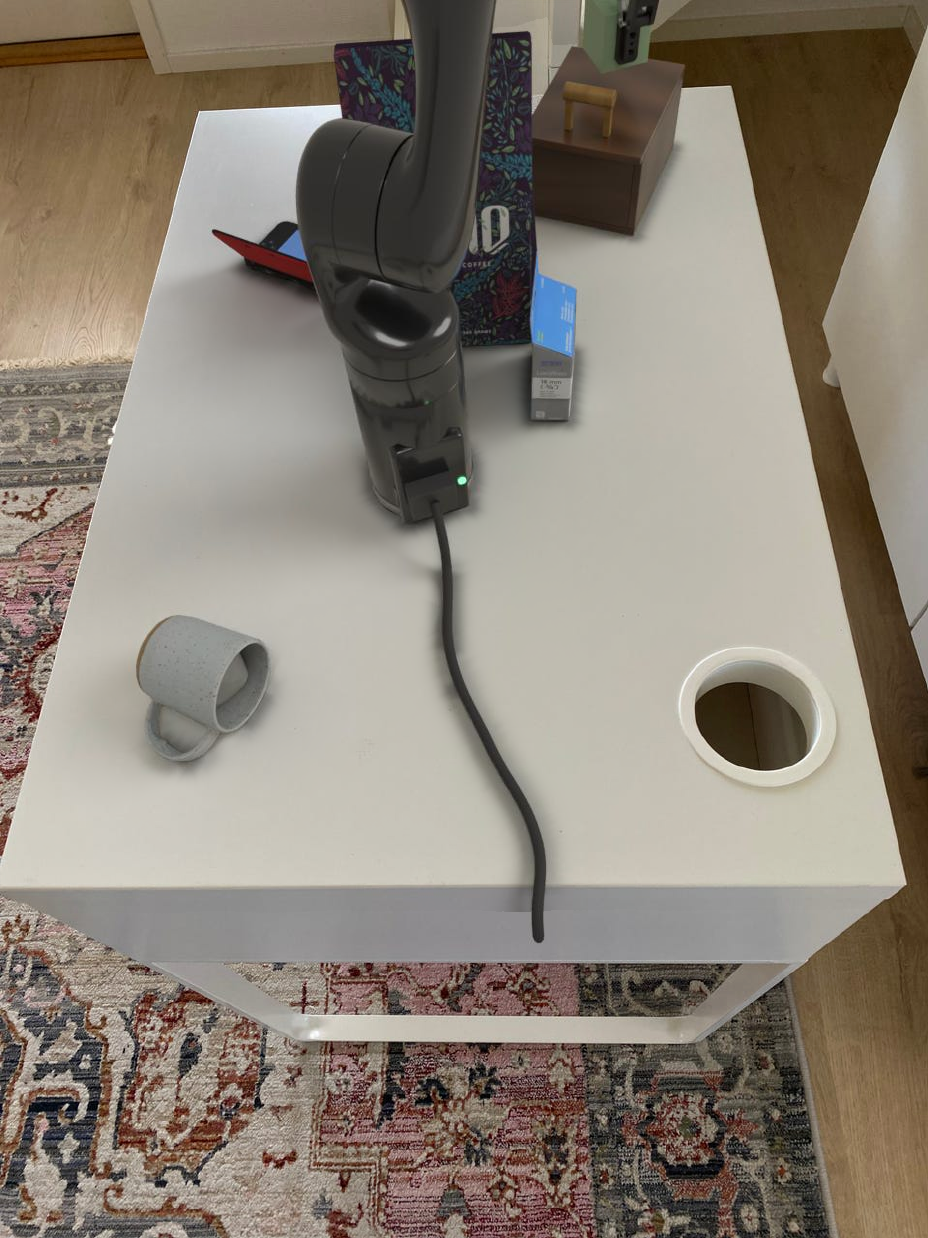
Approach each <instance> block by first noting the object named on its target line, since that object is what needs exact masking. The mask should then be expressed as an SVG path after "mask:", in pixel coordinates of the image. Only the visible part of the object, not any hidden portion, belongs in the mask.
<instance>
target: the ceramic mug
mask: <svg viewBox="0 0 928 1238" xmlns="http://www.w3.org/2000/svg"><path fill="white" fill-rule="evenodd" d="M271 665H272V664H271V655H270V651H269V648H268V646H267V645H266V643H265V642H264V641H263V640H261V639H259V638H257V637H254V636H251V635H248V634H245V633H241V632H239V631H236V630H233V629H230V628H227V627H224V626H221V625H218V624H214V623H212V622H209V621H207V620H204V619H201V618H199V617H194V616H191V615H189V616H188V615H181V614H178V615H171V616H168V617H165V618H164V619H163V620H161V621H158V623H156V624H155V625H154V627H153V628H152V629H151V630H150V631H149V632H148V634H147V635H146V637H145V638H144V640H143V641H142V644H141V646H140V649H139V652H138V655H137V658H136V664H135V666H136V667H135V674H136V675H135V676H136V679H137V684H138V686H139V688H140V690H141V691H142V692H143V693H144V694H145V695H147V696H148V697H149V698H150V699H151V701H150V703H149V705H148V706H147V710H146V714H145V718H144V732H145V737H146V739H147V742H148V743H149V746H150V747H151V748H152V749H153V750H154V752H155V753H157V754H158V755H160V757H161V756H162V757H163V758H164V759H167V760H169V761H172V762H188V761H193V760H196V759H198V758H199V757H201V756H203V755H204V754H206V752H208V751H209V750H210V748H211V747H212V746H213V744H214V743H215V741H216V740H217V739H218V737H219V735H220V733H221V734H229V733H232V732H235V731H237V730H238V729H239V728H241V727H242V726H244V725H245V724H246V723H247V721H248V720H249V719H250V718H251V717H252V716H253V714H254V712H255V711H256V710H257V708H258V706H259V704H260V702H261V701H262V698H263V697H264V695H265V692H266V689H267V687H268V683H269V679H270V675H271V669H272V667H271ZM163 706H164V707H167V708H169V709H172V710H173V711H176V712H178V713H180V714H182V715H184V716H186V717H187V718H190V719H192V720H193V721H195V722H197V723H199V724H201V725H203V726H206V728H207V729H206V732H205V734H204V735H203V737H202V738H201V739H200V741H199V742H198V744H196V746H194V748H192V749H191V750H188V751H187V752H181V751H180V750H178V749H176V748H174V747H173V746H172V745H170V744H169V743H168V741H167V740H166V739H164V738H162V737H161V733H160V730H159V723H160V717H161V712H162V709H163Z"/></svg>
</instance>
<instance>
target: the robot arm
mask: <svg viewBox="0 0 928 1238" xmlns="http://www.w3.org/2000/svg"><path fill="white" fill-rule="evenodd" d="M497 1H498V0H400V2H401V6H402V8H403V11H404V15H405V18H406V22H407V26H408V30H409V35H410V39H411V41H412V47H413V55H414V65H415V82H416V104H415V126H414V132H410V131H405V130H401V129H396V128H392V127H387V126H383V125H377V124H373V123H369V122H364V121H360V120H354V119H347V118H342V117H338V118H333V119H330V120H328V121H325V122H324V123H322V124H321V125H320V126H319V127H318V128H317V129H316V130H315V131H313V133H312V134H311V135H310V137H309V138H308V141H307V142H306V144H305V146H304V148H303V150H302V153H301V156H300V159H299V162H298V168H297V174H296V180H295V212H296V213H295V214H296V221H297V224H298V228H299V233H300V238H301V242H302V246H303V250H304V253H305V257H306V260H307V264H308V267H309V270H310V273H311V276H312V279H313V282H314V285H315V289H316V291H315V292H316V295H317V298H318V301H319V305H320V307H321V311H322V314H323V317H324V321H325V323H326V326H327V327H328V330H329V331H330V332H331V334H332V335H333V337H334V338H335V339H336V340H337V341H338V342H339V345H340V348H341V351H342V356H343V360H344V365H345V369H346V373H347V378H348V383H349V387H350V391H351V396H352V401H353V405H354V409H355V413H356V419H357V423H358V426H359V431H360V435H361V439H362V444H363V448H364V453H365V458H366V462H367V465H368V469H369V477H370V483H371V487H372V491H373V493H374V496H375V497H376V499H377V500H378V502H379V503H380V504H381V505H382V506H384V508H386V509H387V510H389V511H390V512H392V513H394V514H396V515H399V516H400V517H401V519H402V522H403V523H404V524H405V525H409V524H412V523H415V522H419V521H422V520H425V519H429V518H432V519H433V524H434V528H435V533H436V538H437V542H438V547H439V554H440V561H441V562H440V563H441V574H442V617H441V618H442V619H441V628H442V629H441V631H442V643H443V650H444V654H445V659H446V663H447V667H448V671H449V673H450V677H451V679H452V682H453V685H454V687H455V690H456V692H457V695H458V697H459V699H460V701H461V703H462V705H463V707H464V708H465V711H466V713H467V714H468V716H469V718H470V721H471V722H472V724H473V726H474V728H475V730H476V732H477V734H478V737H479V738H480V741H481V743H482V744H483V747H484V749H485V751H486V753H487V755H488V757H489V759H490V761H491V763H492V764H493V766H494V768H495V769H496V771H497V773H498V775H499V776H500V778H501V780H502V781H503V783H504V785H505V786H506V788H507V789H508V792H509V793H510V795H511V797H512V798H513V799H514V801H515V803H516V806H517V807H518V808H519V811H520V814H521V815H522V817H523V820H524V822H525V825H526V828H527V831H528V833H529V838H530V841H531V846H532V850H533V857H534V858H533V859H534V873H533V874H534V876H533V885H532V886H533V887H532V899H531V916H530V917H531V934H532V935H531V936H532V938H533V941H534V942H535V943H536V944H542V943H543V942H544V940H545V923H544V908H545V894H546V885H547V884H546V883H547V857H546V849H545V844H544V840H543V836H542V833H541V829H540V826H539V824H538V821H537V818H536V816H535V813H534V811H533V809H532V806H531V805H530V803H529V801H528V799H527V797H526V795H525V794H524V792H523V790H522V789H521V787H520V786H519V784H518V782H517V781H516V779H515V778H514V775H513V774H512V773H511V770H510V769H509V767H508V766H507V764H506V762H505V761H504V759H503V757H502V755H501V753H500V752H499V749H498V747H497V745H496V743H495V741H494V739H493V737H492V735H491V733H490V731H489V729H488V727H487V725H486V723H485V721H484V719H483V718H482V716H481V713H480V712H479V710H478V708H477V706H476V704H475V702H474V700H473V698H472V696H471V694H470V692H469V690H468V687H467V685H466V682H465V680H464V677H463V674H462V672H461V667H460V666H459V662H458V658H457V653H456V648H455V643H454V635H453V604H454V603H453V602H454V588H453V587H454V584H453V583H454V580H453V579H454V578H453V567H452V566H453V565H452V556H451V549H450V544H449V539H448V532H447V528H446V524H445V520H444V516H443V514H445V513H448V512H451V511H455V510H458V509H462V508H464V507H467V506H469V505H470V494H469V493H470V491H471V488H472V487H473V483H474V478H475V477H474V475H475V472H474V471H475V470H474V463H473V457H472V448H471V440H470V438H471V437H470V427H469V425H470V424H469V415H468V404H467V403H468V401H467V388H466V377H465V365H464V363H465V362H464V350H463V349H464V348H463V346H462V336H461V322H460V313H459V307H458V303H457V301H456V298H455V296H454V294H453V293H452V291H451V289H450V288H449V286H450V285H451V284H452V283H453V282H454V280H455V279H456V277H457V276H458V274H459V272H460V270H461V268H462V266H463V263H464V261H465V258H466V255H467V252H468V248H469V245H470V241H471V236H472V232H473V227H474V222H475V215H476V208H477V199H478V189H479V180H480V169H481V158H482V145H483V133H484V121H485V110H486V98H487V86H488V74H489V63H490V51H491V41H492V33H494V32H493V31H494V23H495V16H496V9H497V3H498V2H497ZM616 1H617V21H618V24H617V31H616V44H615V56H614V59H615V61H616V62H617V64H618V65H623V64H627V63H630V62H634V61H635V60H636V59H637V56H638V47H639V37H640V27H644V26H650V25H651V26H653V25H654V24H655V21H656V17H657V13H658V8H659V5H660V4H659V3H660V0H629V5H628V10H626V0H616ZM646 6H647V7H646Z"/></svg>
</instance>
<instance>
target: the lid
mask: <svg viewBox="0 0 928 1238" xmlns="http://www.w3.org/2000/svg"><path fill="white" fill-rule="evenodd" d="M685 70H686V65H685V64H684V63H677V62H673V61H672V62H671V61H665V60H660V59H655V58H654V59H652V58H648V61H647V62H645V63H641V64H637V65H633V66H630V67H626V68H622V69H618V70H614V71H610V72H606V73H602V74H601V73H600V71H599V70H598V68H597V67H596V66H595V64H594V63H593V61H592V60H591V59H590V57H589V56H588V54H587V53H586V52H585V50H584V49H583V47H581V46H580V47H579V46H574V45H571V47H570V48H569V50H568V51H567V53H566V56H565V57H564V59H563V60H562V62H561V64H560V66H559V67H558V69H557V71H556V73H555V75H554V76H553V78H552V79H551V82H550V83H549V84H548V87H547V88H546V90H545V91H544V94H543V95H542V97H541V98H540V100H539V102H538V103H537V105H536V106H535V107H536V108H535V109H534V111H533V112H532V145H536V146H541V147H546V148H552V149H557V150H562V151H568V152H573V153H578V154H583V155H589V156H594V157H599V158H604V159H610V160H615V161H620V162H625V163H631V164H636V165H640V164H641V162H642V160H643V158H644V156H645V154H646V152H647V149H648V147H649V145H650V143H651V141H652V139H653V137H654V135H655V132H656V130H657V128H658V126H659V124H660V122H661V120H662V118H663V115H664V113H665V111H666V109H667V107H668V105H669V103H670V101H671V98H672V96H673V94H674V92H675V90H676V88H677V86H678V84H679V81H680V79H681V77H682V75H683V73H684V74H685Z"/></svg>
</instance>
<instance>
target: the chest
mask: <svg viewBox="0 0 928 1238" xmlns="http://www.w3.org/2000/svg"><path fill="white" fill-rule="evenodd" d="M684 75H685V72H684V73H683V75H682V77H681V79H680V81H679V84H678V86H677V88H676V90H675V92H674V94H673V96H672V98H671V101H670V103H669V105H668V107H667V109H666V111H665V113H664V115H663V118H662V120H661V122H660V124H659V126H658V128H657V130H656V132H655V135H654V137H653V139H652V141H651V143H650V145H649V147H648V149H647V152H646V154H645V156H644V158H643V160H642V162H641V164H640V165H636V164H631V163H625V162H620V161H615V160H610V159H604V158H599V157H594V156H589V155H583V154H578V153H573V152H568V151H562V150H557V149H552V148H546V147H541V146H536V145H532V181H533V196H534V210H535V217H540V218H541V217H542V218H546V219H551V220H555V221H560V222H564V223H569V224H574V225H580V226H583V227H588V228H594V229H599V230H604V231H607V232H613V233H617V234H622V235H628V236H632V237H634V236H635V234H636V232H637V230H638V227H639V226H640V223H641V220H642V218H643V216H644V214H645V213H646V209H647V208H648V206H649V203H650V201H651V198H652V196H653V194H654V191H655V190H656V188H657V185H658V183H659V180H660V178H661V176H662V175H663V172H664V170H665V167H666V165H667V163H668V160H669V159H670V156H671V154H672V152H673V150H674V145H675V138H676V137H675V136H676V130H677V125H678V124H677V123H678V118H679V117H678V116H679V111H680V110H679V109H680V105H681V104H680V102H681V96H682V90H683V83H684Z"/></svg>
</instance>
